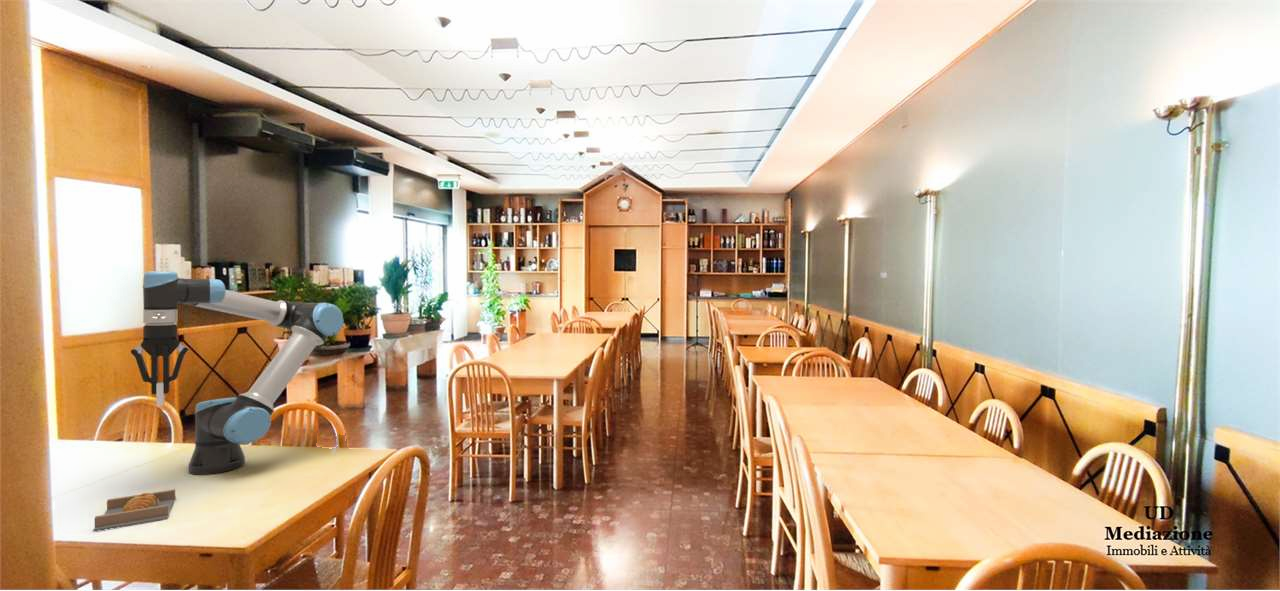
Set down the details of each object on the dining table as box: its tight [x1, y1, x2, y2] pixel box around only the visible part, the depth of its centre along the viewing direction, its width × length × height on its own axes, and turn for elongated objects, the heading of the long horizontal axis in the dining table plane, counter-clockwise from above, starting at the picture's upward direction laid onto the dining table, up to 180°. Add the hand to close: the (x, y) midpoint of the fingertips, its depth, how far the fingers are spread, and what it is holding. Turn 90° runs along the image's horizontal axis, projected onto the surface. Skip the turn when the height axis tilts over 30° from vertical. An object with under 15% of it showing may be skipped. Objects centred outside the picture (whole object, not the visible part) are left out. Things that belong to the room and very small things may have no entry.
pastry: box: [123, 492, 159, 512], centre depth 147 cm, size 9×7×4 cm
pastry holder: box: [92, 488, 177, 532], centre depth 147 cm, size 14×17×3 cm
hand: (160, 405), depth 160 cm, fingers closed
